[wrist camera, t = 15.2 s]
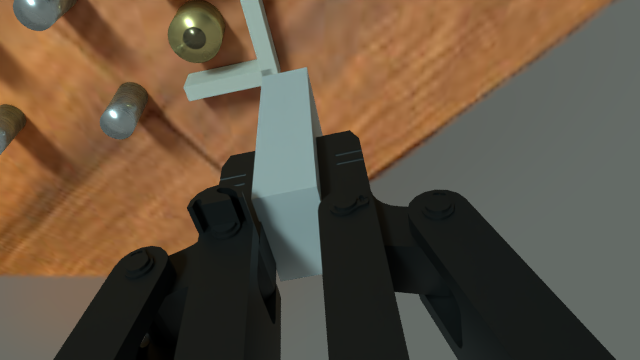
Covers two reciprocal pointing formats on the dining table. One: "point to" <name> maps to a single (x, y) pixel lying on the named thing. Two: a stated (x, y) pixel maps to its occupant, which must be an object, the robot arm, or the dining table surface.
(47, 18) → the spacers
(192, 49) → the gold round piece
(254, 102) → the dining table surface
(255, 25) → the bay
